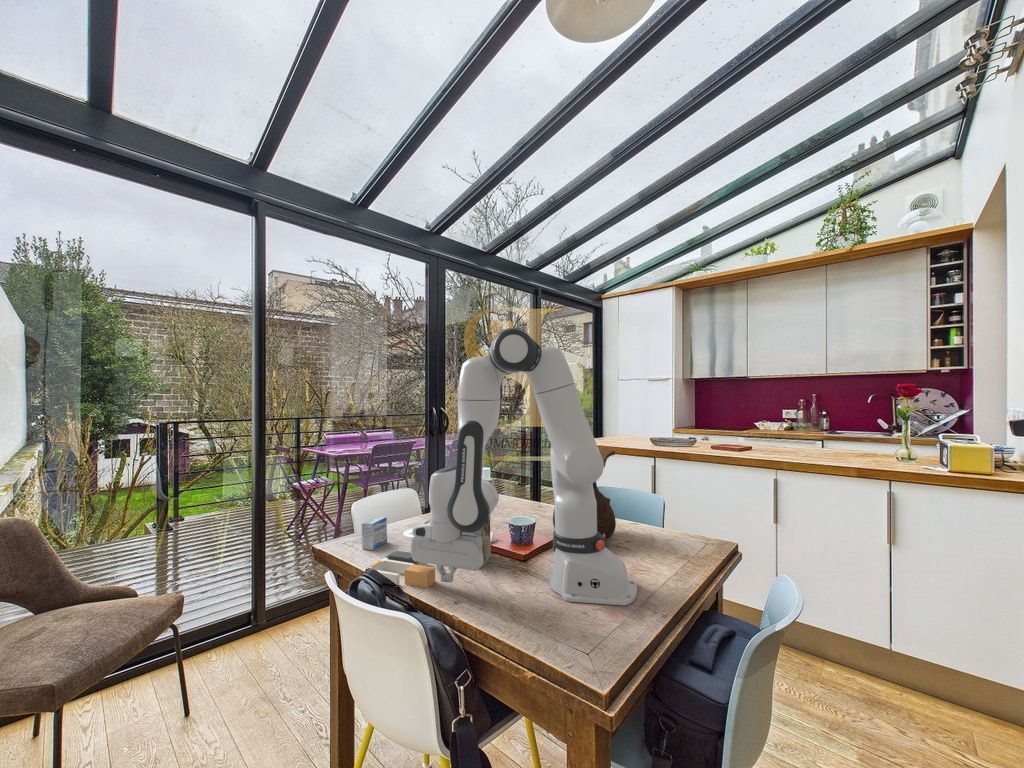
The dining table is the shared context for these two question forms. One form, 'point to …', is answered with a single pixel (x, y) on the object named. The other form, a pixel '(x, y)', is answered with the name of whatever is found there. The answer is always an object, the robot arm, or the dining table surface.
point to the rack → (392, 568)
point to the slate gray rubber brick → (402, 557)
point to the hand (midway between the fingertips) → (447, 581)
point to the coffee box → (485, 540)
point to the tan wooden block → (420, 575)
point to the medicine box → (374, 533)
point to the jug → (602, 505)
